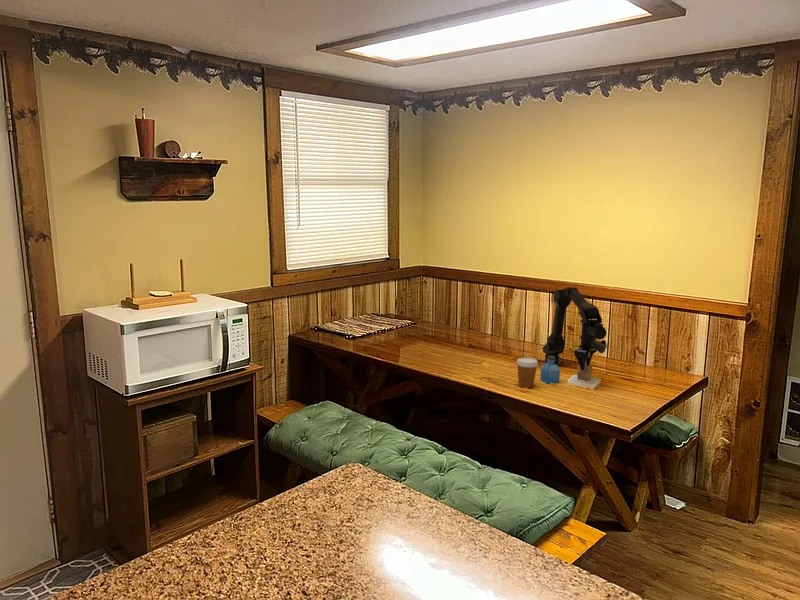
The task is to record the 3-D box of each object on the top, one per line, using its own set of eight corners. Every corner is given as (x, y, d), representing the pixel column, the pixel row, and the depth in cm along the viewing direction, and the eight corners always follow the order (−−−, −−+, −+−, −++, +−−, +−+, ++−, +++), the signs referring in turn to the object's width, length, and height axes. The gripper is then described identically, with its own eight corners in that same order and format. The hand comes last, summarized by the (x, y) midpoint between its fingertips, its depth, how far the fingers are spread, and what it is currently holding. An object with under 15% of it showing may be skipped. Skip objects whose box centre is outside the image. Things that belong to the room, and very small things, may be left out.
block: (577, 379, 281) (578, 366, 280) (580, 376, 285) (581, 363, 284) (588, 381, 278) (589, 368, 277) (591, 378, 282) (592, 365, 281)
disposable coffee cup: (521, 381, 284) (523, 356, 282) (540, 385, 278) (542, 360, 276) (511, 386, 277) (512, 360, 275) (530, 390, 271) (532, 364, 269)
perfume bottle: (546, 384, 280) (548, 359, 278) (540, 380, 286) (541, 355, 284) (559, 383, 282) (560, 358, 280) (552, 379, 288) (553, 354, 286)
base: (566, 385, 280) (567, 379, 280) (574, 378, 290) (574, 373, 290) (593, 390, 274) (594, 384, 273) (600, 383, 284) (600, 377, 283)
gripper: (600, 341, 266) (598, 375, 268) (611, 332, 281) (608, 365, 284) (575, 337, 271) (572, 371, 274) (586, 329, 287) (584, 361, 290)
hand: (585, 367), depth 280 cm, fingers open, 9 cm apart
